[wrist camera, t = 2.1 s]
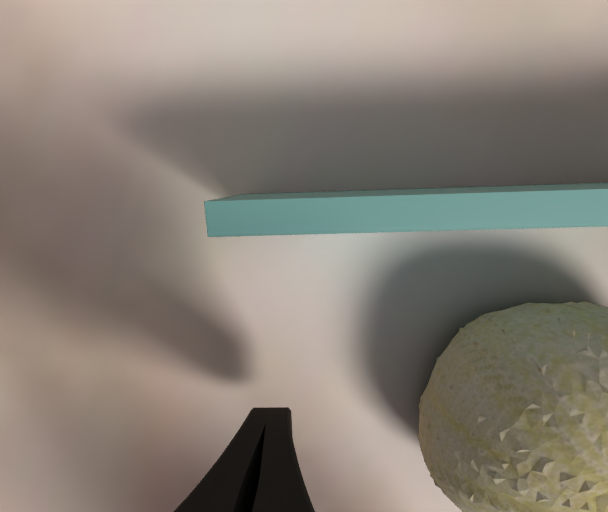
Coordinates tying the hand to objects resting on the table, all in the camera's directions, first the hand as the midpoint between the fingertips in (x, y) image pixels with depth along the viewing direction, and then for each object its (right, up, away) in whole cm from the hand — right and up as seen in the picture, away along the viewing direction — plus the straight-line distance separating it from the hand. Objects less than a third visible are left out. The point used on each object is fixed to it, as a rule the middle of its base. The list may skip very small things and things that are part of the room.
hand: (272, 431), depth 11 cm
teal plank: (+7, +8, 0) cm, 11 cm away
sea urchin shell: (+10, +1, +2) cm, 10 cm away
